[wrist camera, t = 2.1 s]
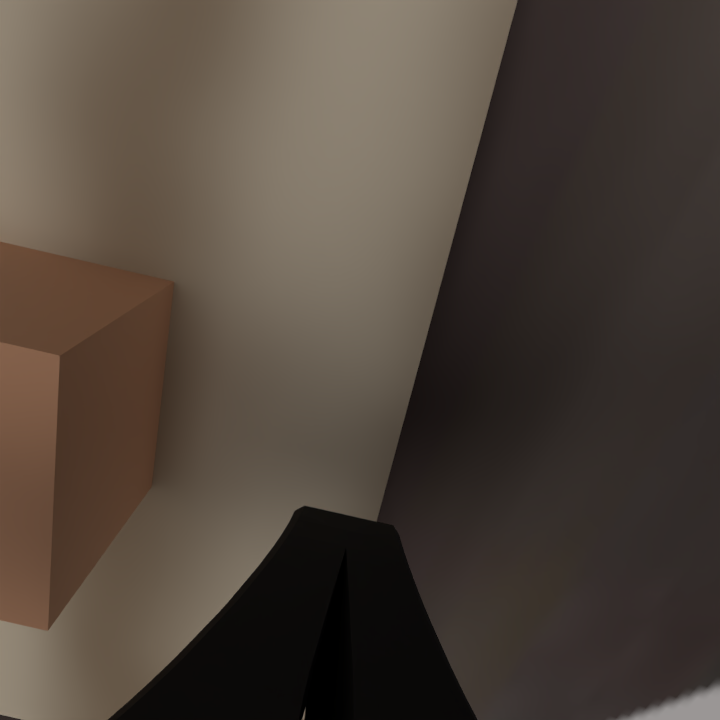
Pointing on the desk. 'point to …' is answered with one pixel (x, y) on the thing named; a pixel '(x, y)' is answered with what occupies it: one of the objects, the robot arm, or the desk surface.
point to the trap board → (238, 272)
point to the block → (72, 419)
